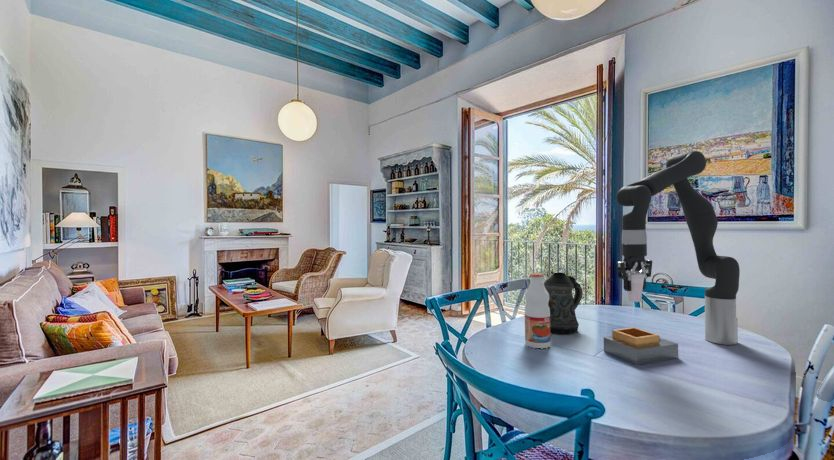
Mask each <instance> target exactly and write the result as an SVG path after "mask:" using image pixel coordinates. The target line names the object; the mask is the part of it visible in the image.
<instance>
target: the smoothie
mask: <svg viewBox="0 0 834 460" xmlns="http://www.w3.org/2000/svg"><path fill="white" fill-rule="evenodd" d="M626 276H628V274H626ZM644 277H645V274H642V273H637V271H636V272H634V274H633V275H631V280H630V281H631V291H626V292H627V296H628V301H629V302H633V303H641V302H642V299H643V298H642V297H643V291H644V290H643V282H644Z"/></svg>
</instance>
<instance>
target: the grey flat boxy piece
mask: <svg viewBox="0 0 834 460" xmlns="http://www.w3.org/2000/svg"><path fill="white" fill-rule="evenodd" d="M611 332H612V333H611V334H612V335H611V336H610V335H609V336H604V337H603V351H604V352H606V353H608V354H610V355H612V356H616V357H618V358H620V359H623V360H625V361H627V362H629V363H632V364H633V365H634V364H635V365H636V366H641V365H645V364H652V363H657V362H663V361H669V360H676V359H679V343H677V342H674V341H672V340H668V339H666V338H662V337H661V336H660V335H659V334H657V333H654V332H650V331H648V330H643V329H641V328H638V327H633V326H631V327H625V328H618V329H612V331H611Z"/></svg>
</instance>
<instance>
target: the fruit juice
mask: <svg viewBox="0 0 834 460" xmlns="http://www.w3.org/2000/svg"><path fill="white" fill-rule="evenodd" d="M529 277H530V278H529V279H530V282H529V286H528V287H527V289H526V291H525V293H524V299H525V306H524V342H525V345H526V346H527V347H528V346H530V347H529V348H531V347H533V348H532V349H535V348H541V349H540V350H544V349H543V348H546V349H549V348H550V347H551V345H552V344H551V343H552V341H551V334H550V308H549V306H548V302H549V293H548V292H547V290H546V288H545V286H544V280H543V279H544V274H543V273H542V272H541V273H540V272H531V273H529ZM548 347H549V348H548Z"/></svg>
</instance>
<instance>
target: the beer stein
mask: <svg viewBox="0 0 834 460" xmlns="http://www.w3.org/2000/svg"><path fill="white" fill-rule="evenodd" d="M566 274H567V273H565V272H553V274H552V276H550V277H548V279H546V280H545V281H543V283H544V286H545V288H546V290H547V292H548V293H549V302H548V306H549V308H550V333H552V334H551V335H559V336H560V335H561V336H568V335H569V336H570V335H575V334H576V333H577V332H578V329H579V324H580V323H579V321H578V320H577V316H576V309H577V308H578V306H579V305H580V303H581V300H582V298H583V289H582V286H581V283H579V282H577V281H576V280H577V279H576V277H574V276H571V275H566ZM573 289H574V296H573Z"/></svg>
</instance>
